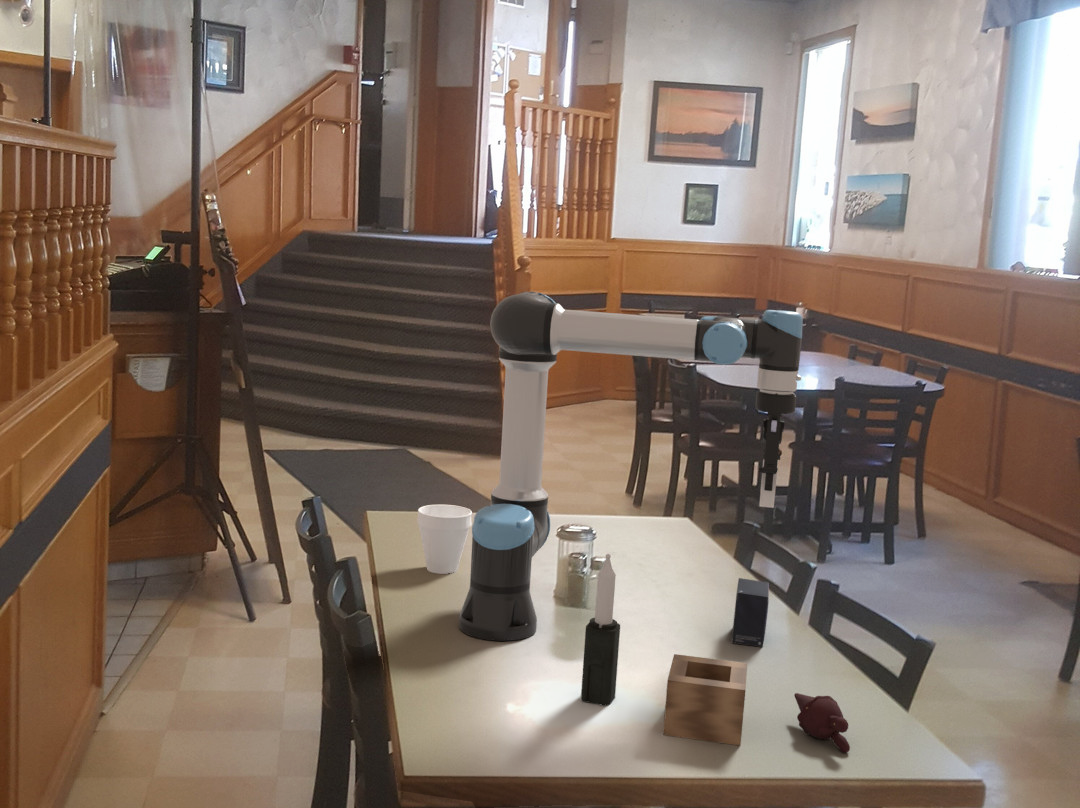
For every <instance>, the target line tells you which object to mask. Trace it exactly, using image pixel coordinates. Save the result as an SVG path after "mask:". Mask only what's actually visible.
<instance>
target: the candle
mask: <svg viewBox="0 0 1080 808" xmlns="http://www.w3.org/2000/svg"><path fill="white" fill-rule="evenodd" d="M616 576H617V575H616V573H615V570H614V569H613V566H612V562H611V554H610V553H607V554H606V555H605V560H604V563H603V565H602V567H601V569H600V570H599V571H598V573H597V583H596V584H597V585H596V597H595V612H594V617H592V618H590V619H589V623H587V624H586V626H585V630H584V631H585V635H584V647H583V659H582V660H583V661H582V662H583V664H582V675H581V677H582V679H581V690H580V691H581V692H580V693H581V694H580V700H581V701H582V702H584V703H590V704H596V705H600V706H609V705H611V704H612V702H613V701H615V699H616V689H617V688H616V687H617V676H618V675H617V674H618V663H619V662H618V661H619V651H620V650H619V649H620V647H619V646H620V633H621V624H620V623H618V621H617V620H615V619H614V617H613V616H614V605H615V590H616Z"/></svg>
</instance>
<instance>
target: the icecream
mask: <svg viewBox="0 0 1080 808" xmlns="http://www.w3.org/2000/svg"><path fill="white" fill-rule="evenodd" d="M794 698H795V701H796V703H797V706H798V709H799V713H798V714H797V720H798V726H799V727H800V728H801V729H802V730H803V732H804V733H805V734H807V735H811V736H812V737H814V738H817V739H819V740H824V741H825V740H829V739H831V740H832V742H833V743H834V745H835V746H836V747H837V749H838V750H839V751H840V752H842V753H843V754H846V753H849V752H850V750H851V749H850V748H851V747H850V743H849V742H848V740H847V738H846V737H845V736H844V735H842V734H843V733H846V732H847V731H848V729H849V722H848V720H847V719H846V718H844V714H843V713H842V710H841V708H840V706H839V704H838V702H837V700H835V699H834V698H833V697H832V696H830V695H817V696H814V697H813V696H811V695H807V694H802V693H799V692H796V693H794Z"/></svg>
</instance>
